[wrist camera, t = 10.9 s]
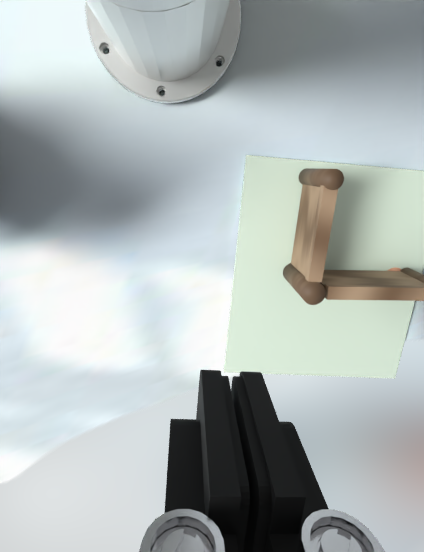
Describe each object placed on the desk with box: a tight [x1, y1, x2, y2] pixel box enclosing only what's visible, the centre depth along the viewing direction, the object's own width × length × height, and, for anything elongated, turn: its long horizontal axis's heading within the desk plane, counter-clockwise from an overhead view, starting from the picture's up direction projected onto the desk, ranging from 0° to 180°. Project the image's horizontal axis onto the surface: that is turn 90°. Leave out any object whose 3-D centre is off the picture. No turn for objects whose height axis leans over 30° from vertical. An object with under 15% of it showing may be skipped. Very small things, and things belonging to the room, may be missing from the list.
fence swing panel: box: [319, 268, 424, 301], centre depth 34 cm, size 12×2×8 cm, turn 88°
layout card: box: [224, 155, 424, 378], centre depth 38 cm, size 23×20×1 cm
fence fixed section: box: [283, 168, 344, 305], centre depth 33 cm, size 11×2×7 cm, turn 175°
